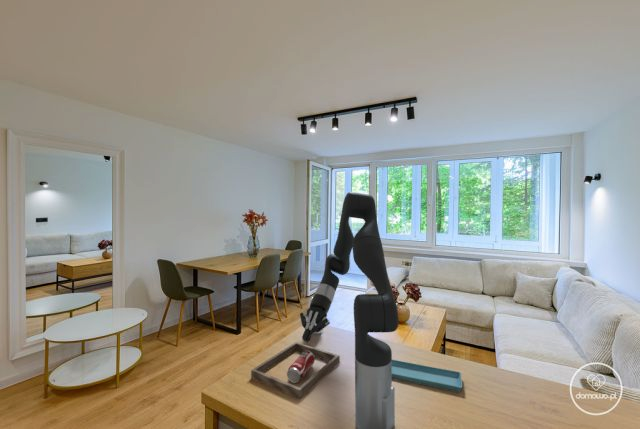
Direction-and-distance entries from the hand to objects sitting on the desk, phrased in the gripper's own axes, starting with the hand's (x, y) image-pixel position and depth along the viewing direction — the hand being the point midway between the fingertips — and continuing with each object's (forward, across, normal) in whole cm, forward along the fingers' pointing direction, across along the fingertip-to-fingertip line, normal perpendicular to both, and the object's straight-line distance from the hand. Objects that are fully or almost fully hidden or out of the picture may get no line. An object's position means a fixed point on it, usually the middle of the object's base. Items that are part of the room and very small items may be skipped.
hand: (305, 341), depth 102 cm
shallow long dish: (-3, +36, +16) cm, 40 cm away
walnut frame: (+9, 0, +3) cm, 9 cm away
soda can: (+4, +1, +4) cm, 6 cm away
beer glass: (-12, -12, +24) cm, 30 cm away
